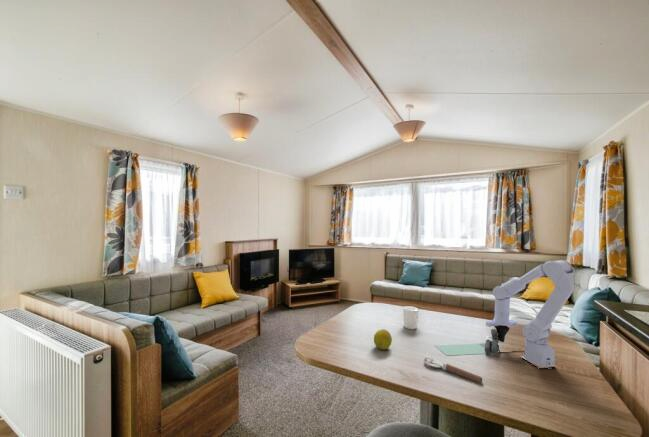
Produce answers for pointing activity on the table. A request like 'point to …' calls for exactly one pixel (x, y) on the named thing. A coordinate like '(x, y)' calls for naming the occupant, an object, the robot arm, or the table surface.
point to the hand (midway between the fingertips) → (500, 341)
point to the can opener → (494, 342)
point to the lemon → (382, 339)
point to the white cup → (410, 317)
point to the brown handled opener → (453, 369)
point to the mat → (464, 349)
